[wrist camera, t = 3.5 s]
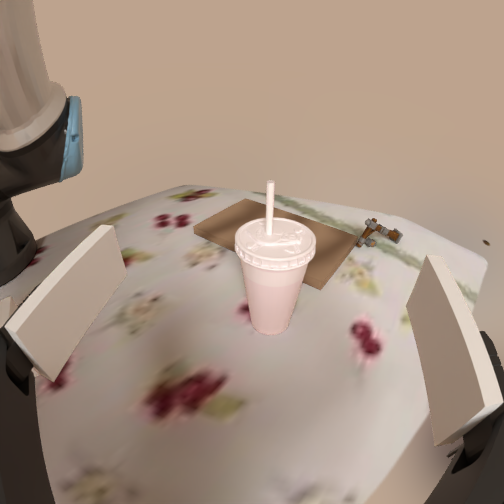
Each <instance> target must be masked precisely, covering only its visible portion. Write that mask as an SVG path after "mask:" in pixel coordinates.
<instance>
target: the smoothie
mask: <svg viewBox="0 0 504 504" xmlns="http://www.w3.org/2000/svg"><path fill="white" fill-rule="evenodd" d="M274 185H275V182H274V181H271V180H270V181H267V194H266V218H260V219H256V220H252V221H250V222H247V223H245V224H244V225H242V226H241V227H240V228H239V229H238V230H237V232H236V234H235V251H236V253H237V255H238V257H239V258H240V260H241V266H242V271H243V277H244V283H245V288H246V294H247V300H248V305H249V311H250V316H251V322H252V325H253V327H254V328H255V329H256V330H257V331H258V332H260V333H262V334H266V335H276V334H279V333H282V332H283V331H285V330H286V329H287V327H288V325H289V322H290V319H291V316H292V313H293V310H294V307H295V304H296V301H297V298H298V294H299V291H300V288H301V285H302V282H303V278H304V275H305V272H306V269H307V265H308V262H309V261H311V260H312V259H313V257H314V255H315V245H316V237H315V235H314V233H313V232H312V231H311V230H310V229H309V228H308V227H306V226H305V225H303V224H301V223H299V222H297V221H294V220H290V219H285V218H278V217H273V211H274V187H275V186H274Z"/></svg>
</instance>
